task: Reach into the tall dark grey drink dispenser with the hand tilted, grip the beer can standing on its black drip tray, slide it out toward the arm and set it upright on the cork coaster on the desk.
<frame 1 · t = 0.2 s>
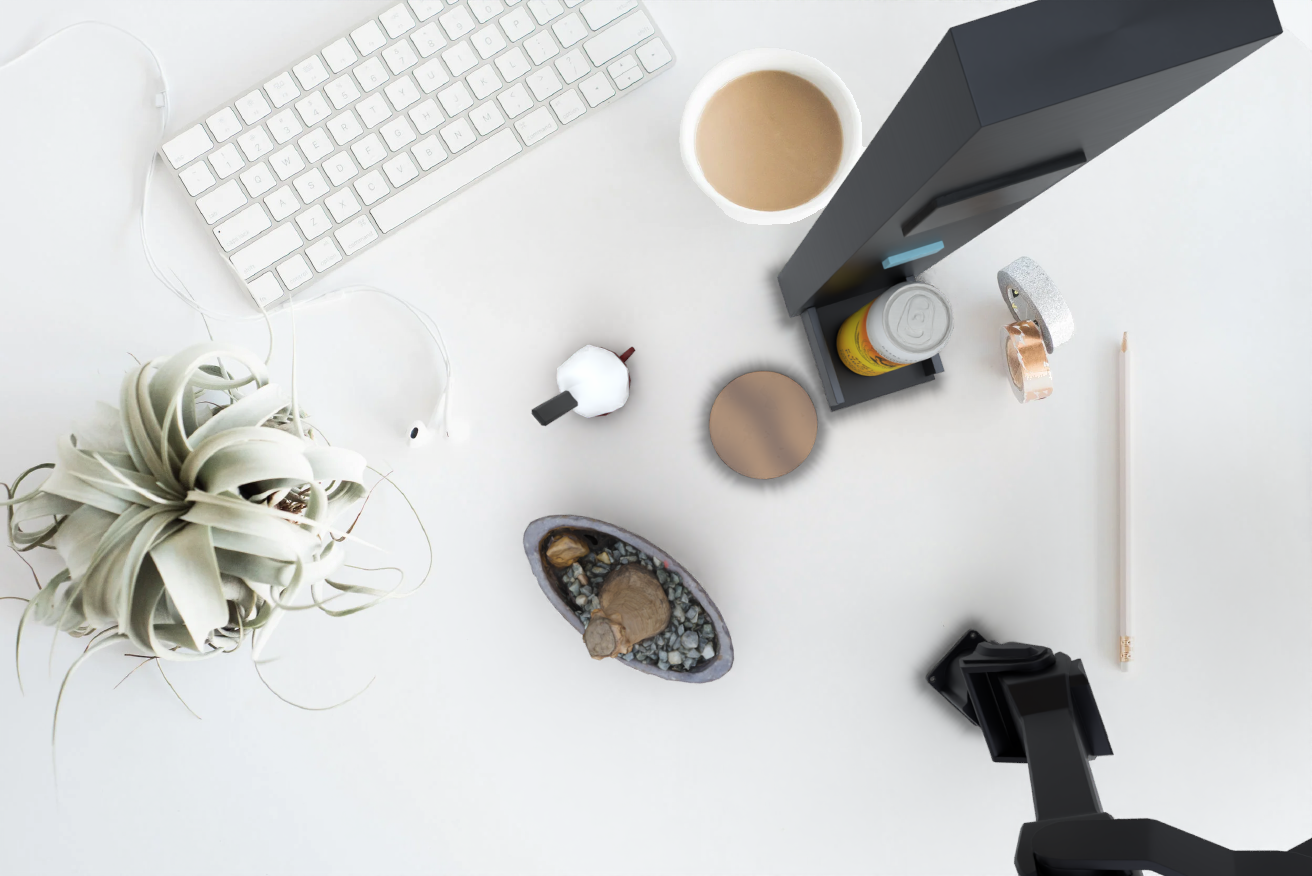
cork coaster: (762, 425, 77), on the table
beer can: (867, 344, 77), resting on dispenser
dispenser: (865, 344, 77), on the table
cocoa: (593, 386, 78), on the table
planter: (632, 582, 77), on the table
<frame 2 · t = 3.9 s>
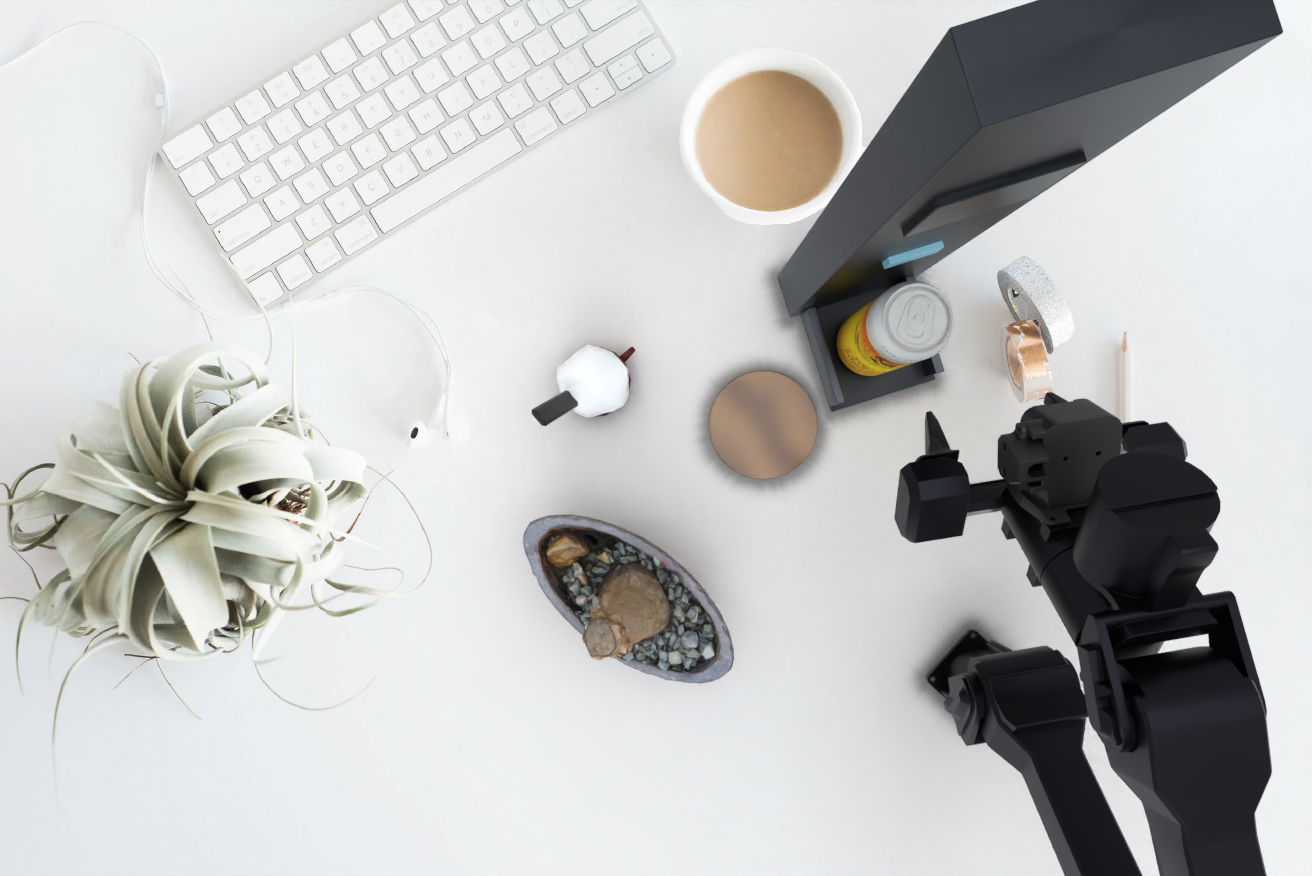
hand: (987, 406, 63), 14 cm above the table, tool tilted 45°, fingers open, 9 cm apart
nothing on the table moved.
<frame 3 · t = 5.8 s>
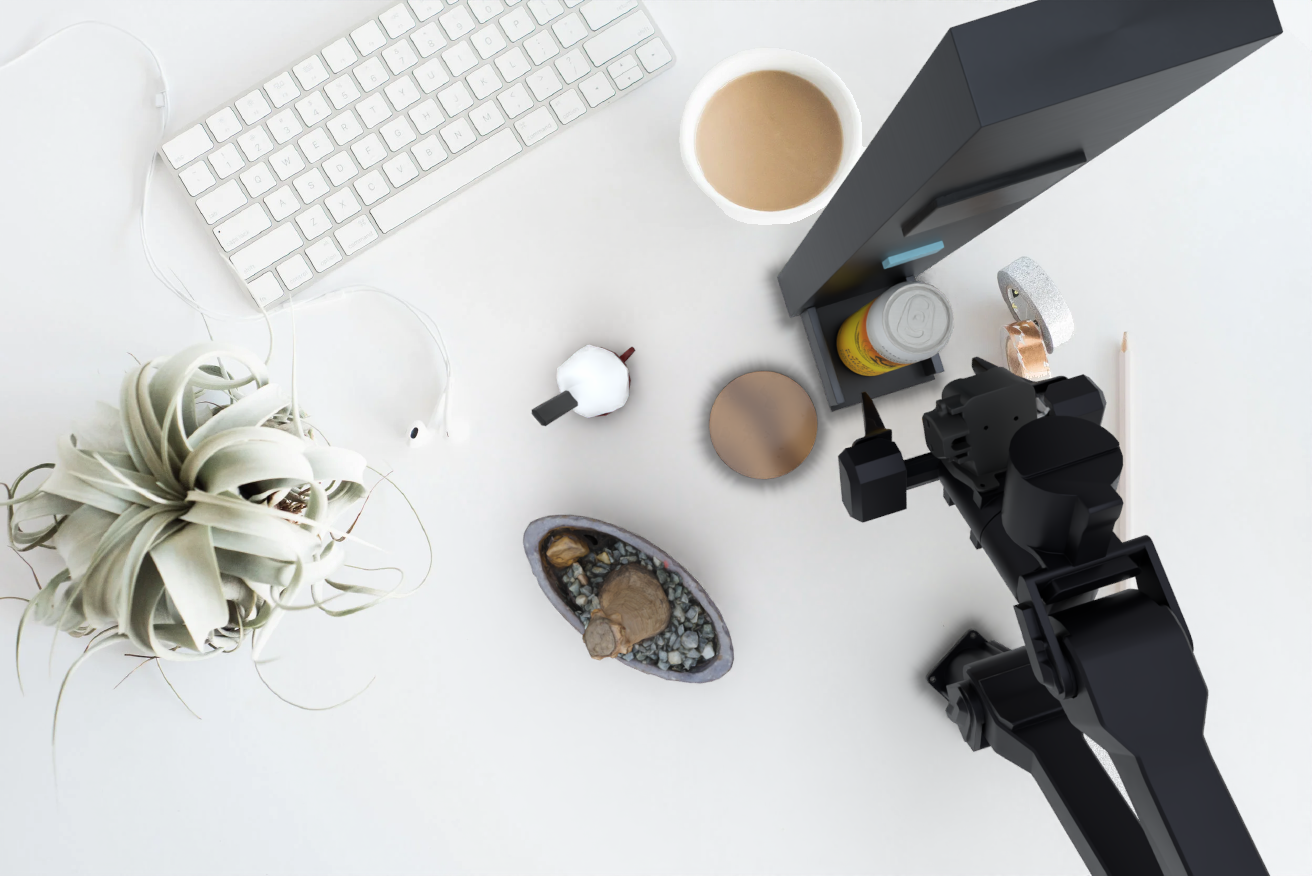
hand: (918, 378, 66), 11 cm above the table, tool tilted 45°, fingers open, 9 cm apart
nothing on the table moved.
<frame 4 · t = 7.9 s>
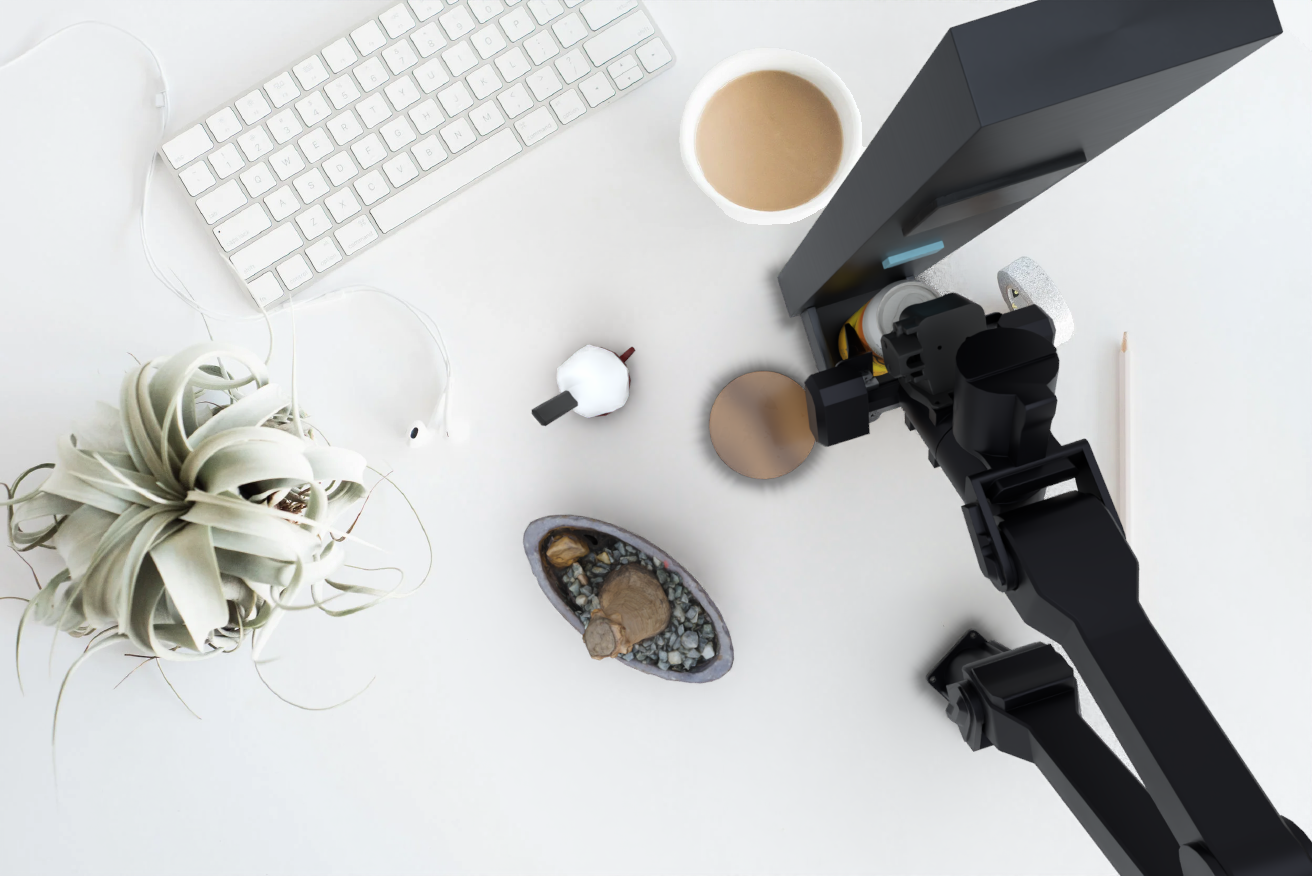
hand: (883, 315, 69), 8 cm above the table, tool tilted 45°, fingers closed on beer can, 6 cm apart
beer can: (869, 344, 77), point 1 cm above the table, touching dispenser, gripper
everything else where it was.
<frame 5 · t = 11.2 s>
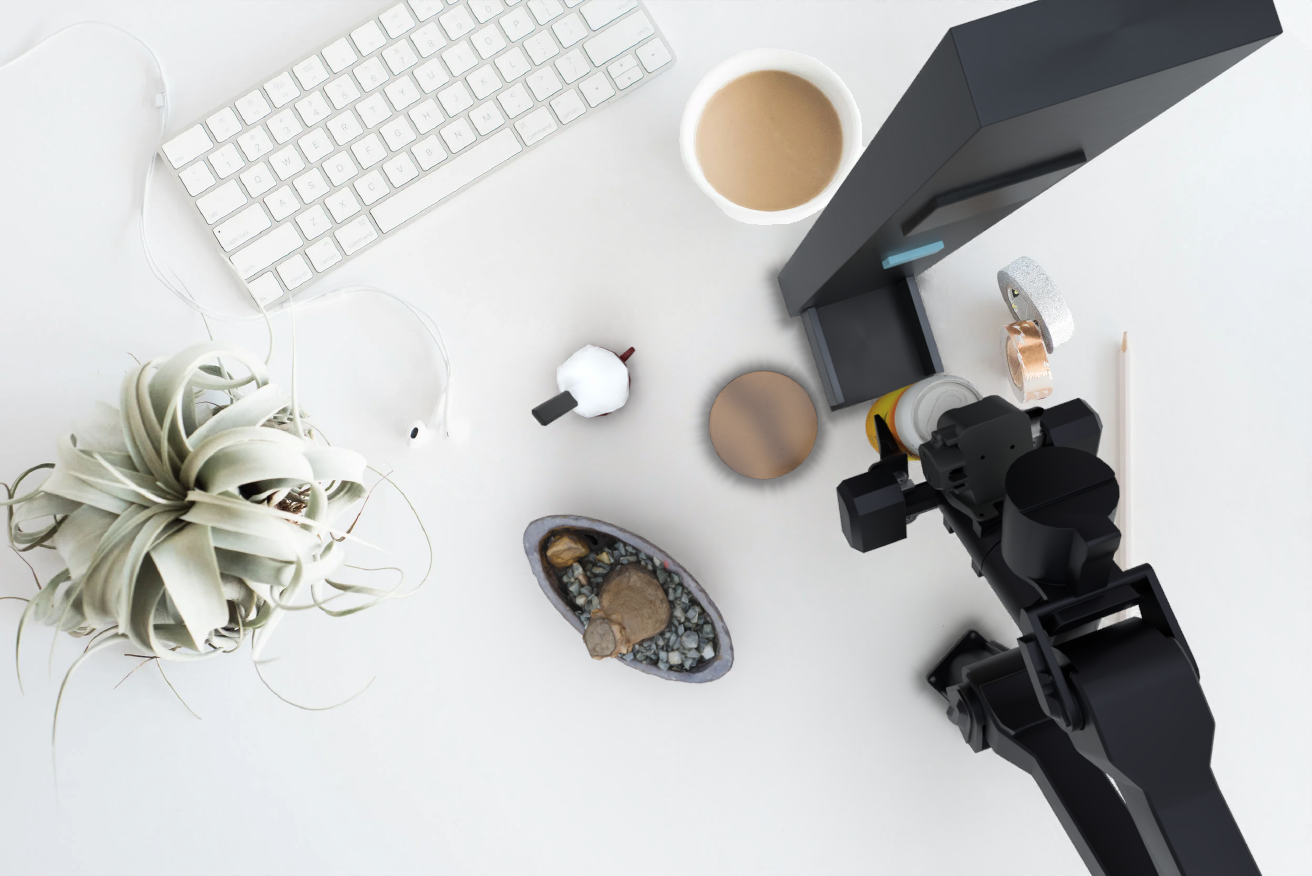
hand: (914, 404, 66), 11 cm above the table, tool tilted 45°, fingers closed on beer can, 6 cm apart
beer can: (897, 426, 73), point 4 cm above the table, touching gripper
everything else where it was.
when the fingers open (8 cm above the table, at t = 14.5 s): beer can stays where it is, resting on cork coaster.
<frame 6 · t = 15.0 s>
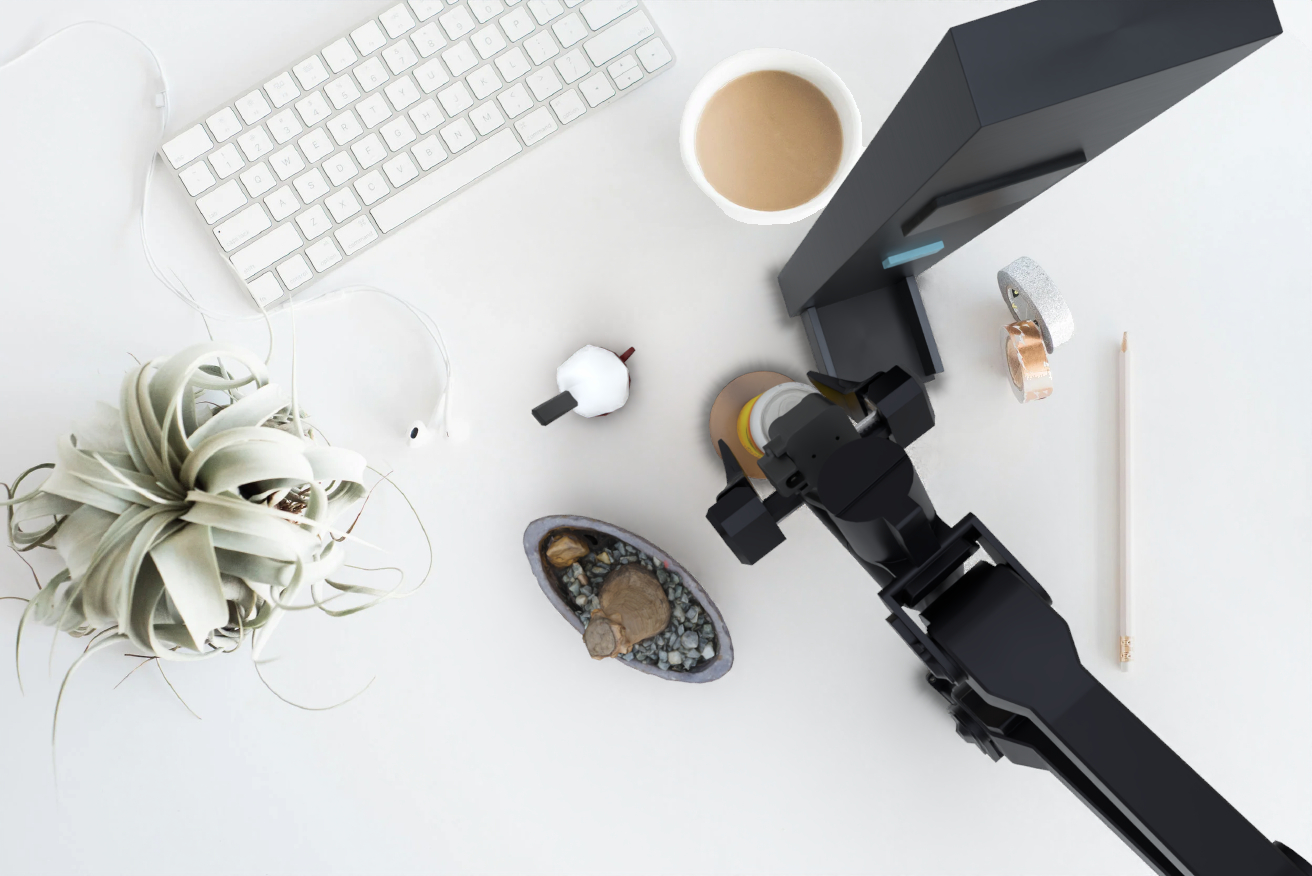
hand: (765, 408, 69), 8 cm above the table, tool tilted 45°, fingers open, 9 cm apart
beer can: (768, 427, 77), resting on cork coaster
everything else where it was.
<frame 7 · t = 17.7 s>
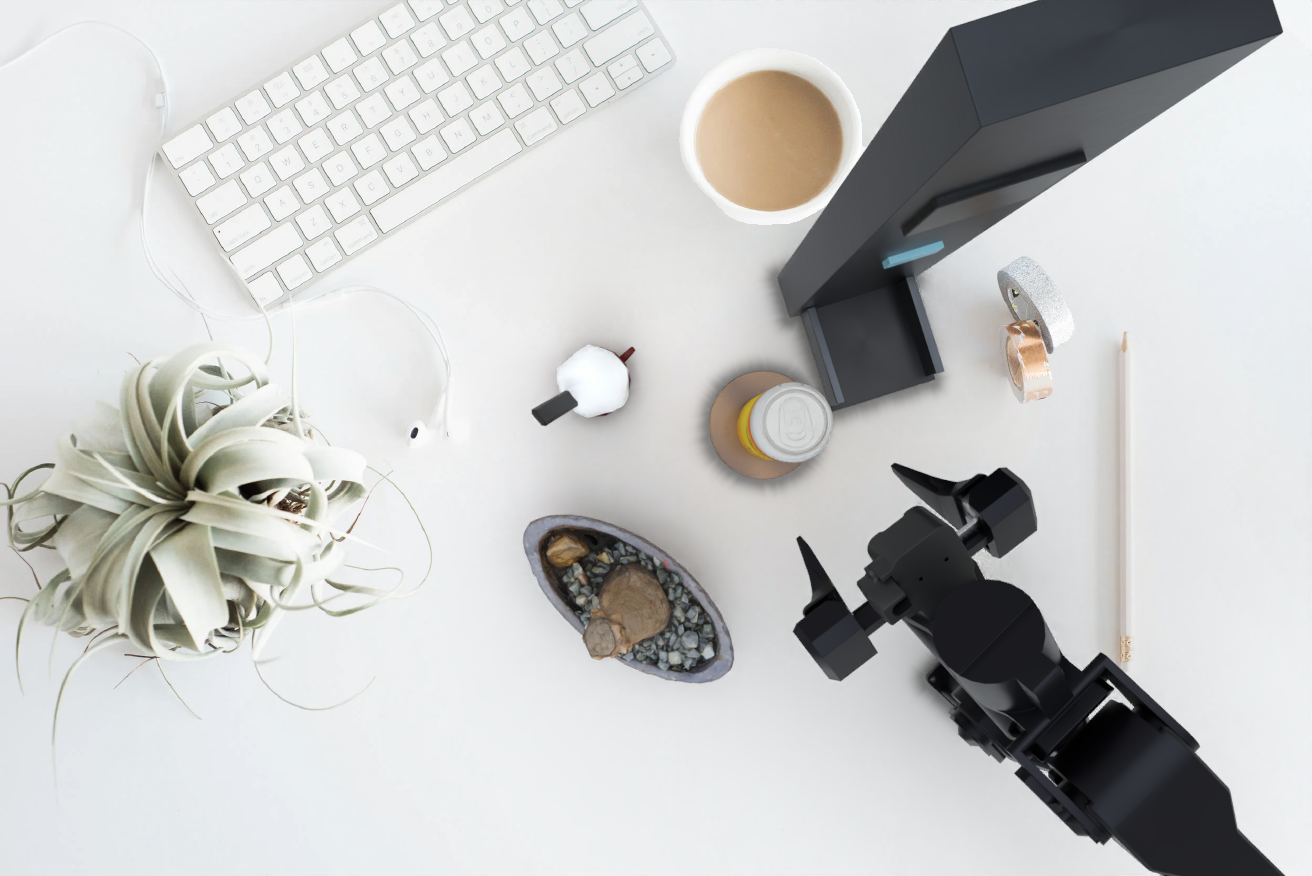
hand: (846, 503, 65), 13 cm above the table, tool tilted 45°, fingers open, 9 cm apart
nothing on the table moved.
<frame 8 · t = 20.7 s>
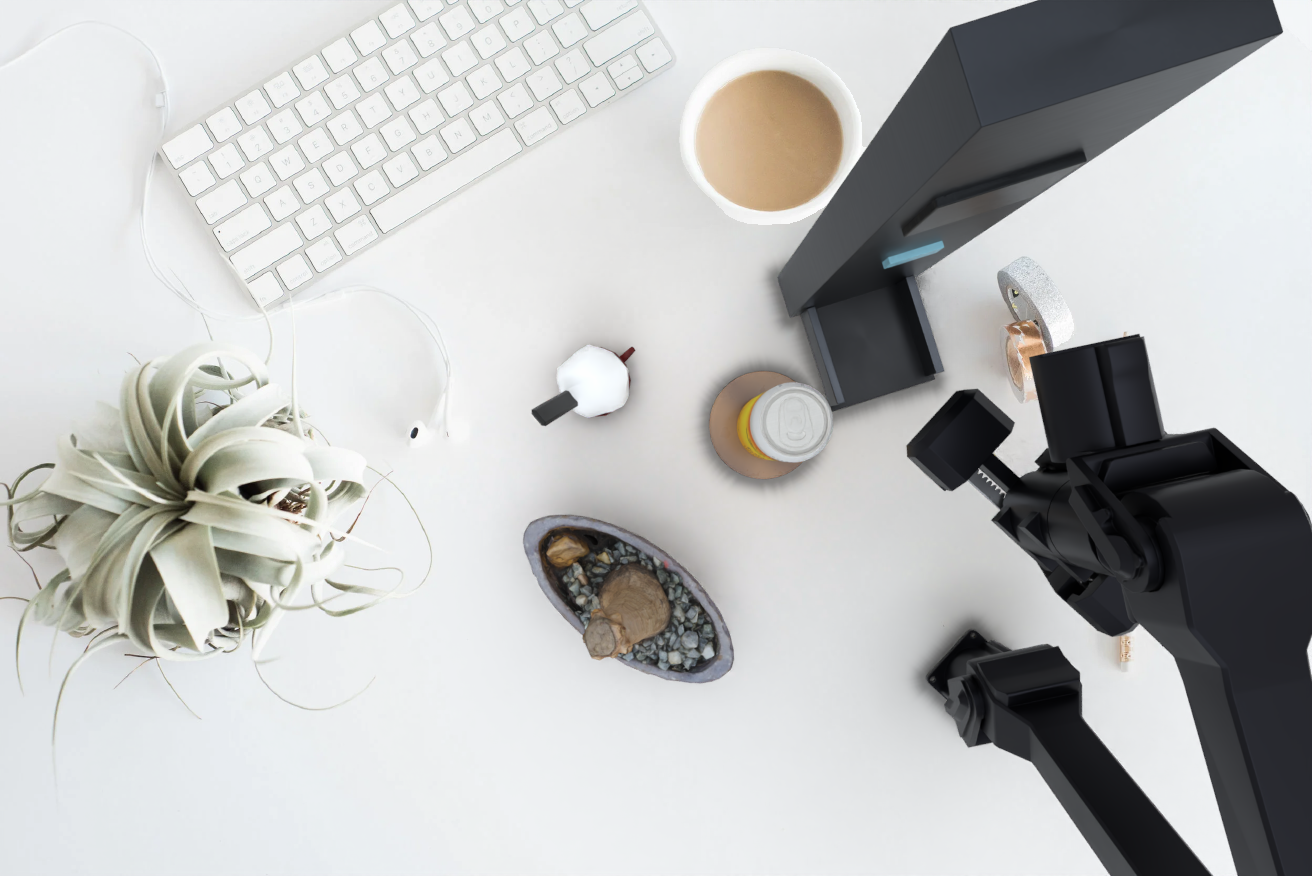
hand: (989, 503, 64), 13 cm above the table, tool pointing down, fingers open, 9 cm apart
nothing on the table moved.
at the end: beer can inside the target area on the cork coaster (0.5 cm from its centre), point 0.2 cm above the cork coaster's base; beer can tilted 0°; beer can touching cork coaster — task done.
